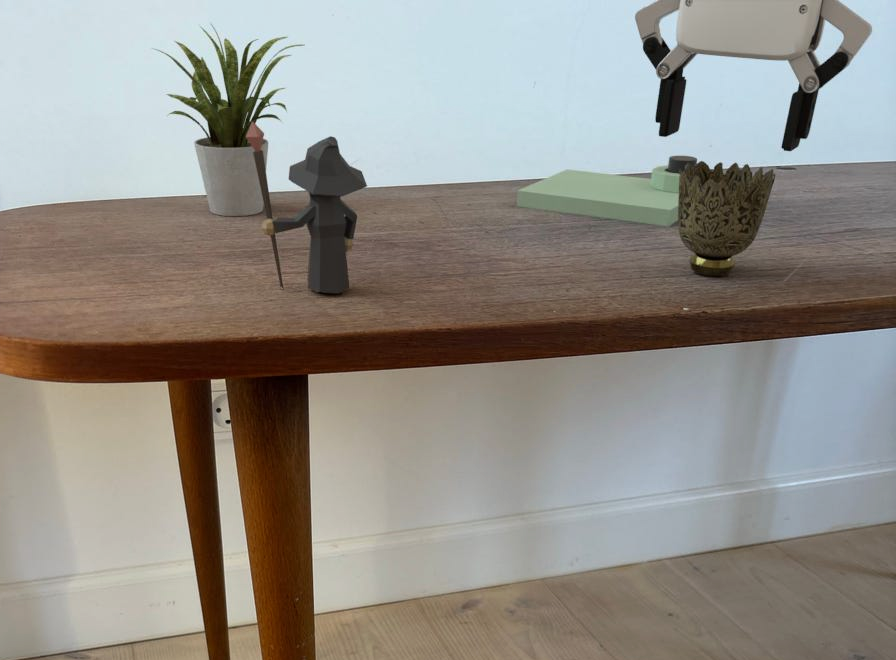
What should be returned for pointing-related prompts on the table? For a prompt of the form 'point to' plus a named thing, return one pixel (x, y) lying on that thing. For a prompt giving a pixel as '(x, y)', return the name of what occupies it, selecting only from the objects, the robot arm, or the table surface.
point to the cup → (720, 213)
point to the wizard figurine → (316, 210)
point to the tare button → (680, 163)
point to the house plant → (229, 127)
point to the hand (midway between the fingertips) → (727, 141)
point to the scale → (607, 195)
